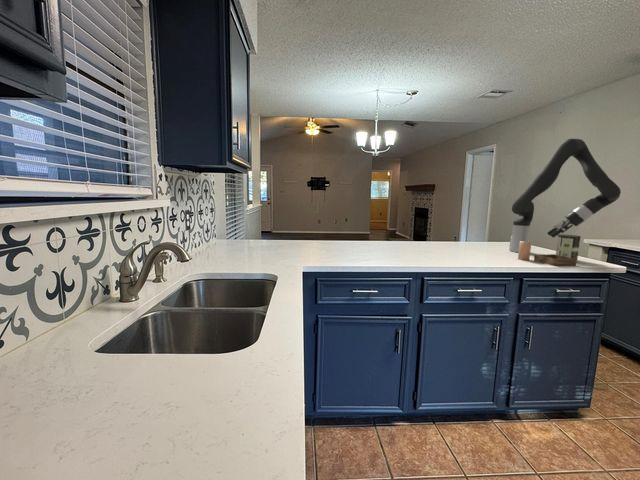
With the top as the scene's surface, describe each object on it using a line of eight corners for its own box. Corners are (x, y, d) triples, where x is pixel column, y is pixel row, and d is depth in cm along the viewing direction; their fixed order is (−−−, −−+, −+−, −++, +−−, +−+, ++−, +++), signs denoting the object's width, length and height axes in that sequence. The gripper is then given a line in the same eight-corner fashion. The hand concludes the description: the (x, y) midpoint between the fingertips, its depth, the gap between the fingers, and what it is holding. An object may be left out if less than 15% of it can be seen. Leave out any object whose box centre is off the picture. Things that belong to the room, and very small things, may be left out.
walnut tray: (533, 260, 178) (534, 254, 177) (553, 260, 180) (554, 254, 179) (554, 266, 165) (555, 259, 164) (575, 265, 167) (576, 259, 167)
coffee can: (572, 258, 185) (576, 234, 183) (580, 262, 176) (584, 237, 174) (552, 257, 189) (555, 233, 187) (558, 260, 179) (561, 236, 177)
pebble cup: (515, 258, 183) (517, 241, 182) (523, 258, 184) (525, 240, 183) (523, 260, 178) (525, 242, 176) (531, 260, 179) (533, 242, 177)
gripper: (569, 209, 175) (542, 229, 181) (577, 210, 162) (547, 231, 169) (580, 219, 173) (552, 239, 180) (588, 221, 160) (558, 242, 167)
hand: (549, 235), depth 174 cm, fingers open, 8 cm apart
